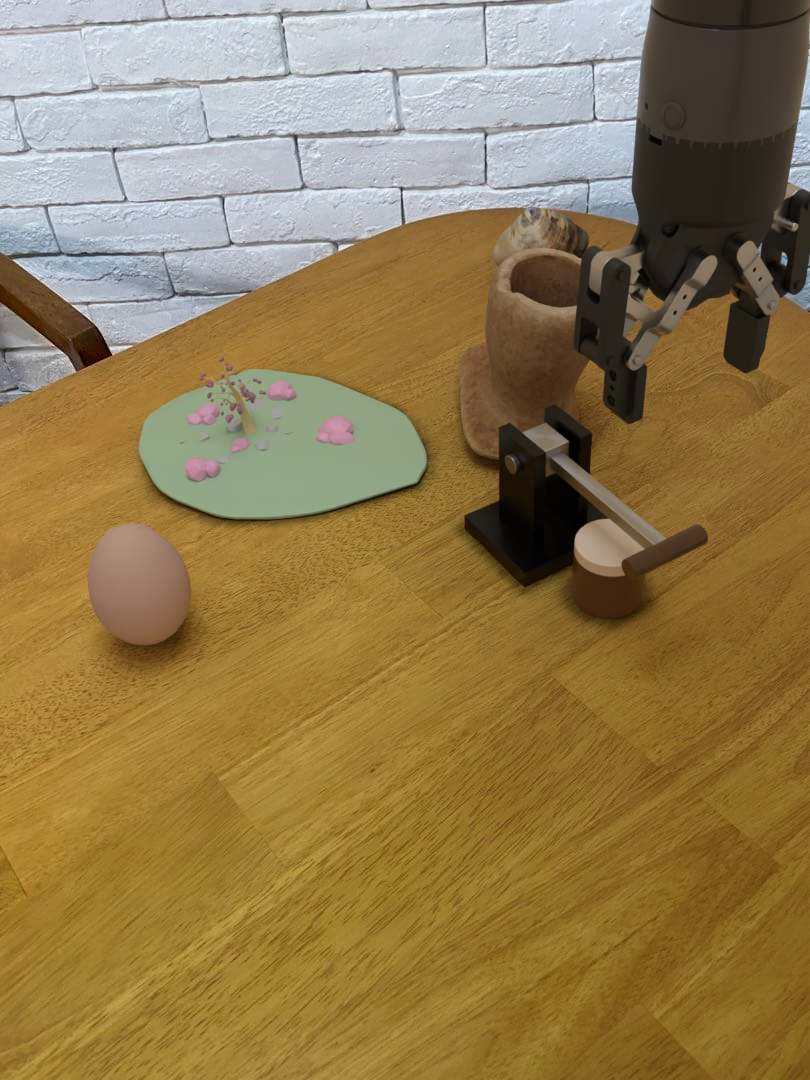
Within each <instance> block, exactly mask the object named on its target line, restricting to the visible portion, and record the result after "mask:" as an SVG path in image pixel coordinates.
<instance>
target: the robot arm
mask: <svg viewBox="0 0 810 1080" xmlns="http://www.w3.org/2000/svg"><path fill="white" fill-rule="evenodd" d="M648 15H649V16H648V20H647V26H646V32H645V35H644V41H643V45H642V46H643V47H642V50H641V58H640V65H639V66H640V67H639V77H638V78H639V80H638V92H637V93H638V95H637V108H636V117H635V118H636V119H635V120H636V121H635V134H634V147H633V148H634V149H633V160H632V174H631V187H630V188H631V189H630V190H631V195H632V199H633V201H634V204H635V205H634V206H635V209H636V213H637V217H638V219H637V220H638V221H637V225H636V228H635V231H634V233H633V236H632V238H631V240H630V243H629V245H626V246H622V247H620V248H616V249H613V250H610V251H607V250H604V249H602V248H601V247H599V246H598V245H590V246H588V247H587V249H586V251H585V252H584V253H583V255H582V259H581V268H580V279H579V289H578V299H577V309H576V319H575V330H574V340H573V348H574V350H575V351H577V352H578V353H580V354H581V355H584V356H585V357H586V358H588V359H589V360H590V361H591V362H592V363H593V364H595V365H596V366H597V367H598V368H599V369H601V370H602V371H604V373H603V374H604V375H603V376H604V377H603V389H602V390H603V392H602V402H603V404H604V407H605V408H606V409H608V410H609V411H610V412H611V413H612V414H613V415H614V416H616V417H617V418H618V419H620V420H621V421H623V422H624V423H626V425H632V424H635V423H636V422H639V421H641V420H642V419H643V417H644V409H645V397H646V387H647V386H646V385H647V377H648V376H647V375H648V365H647V364H646V363H645V362H646V361H647V359H648V358H649V356H650V355H651V353H652V351H653V350H654V348H655V346H656V345H657V343H658V342H659V340H660V338H661V337H663V336H667V335H670V334H672V332H673V331H674V330H675V328H676V327H677V325H678V323H679V321H680V320H681V318H682V317H683V316H684V314H685V312H687V311H690V310H692V309H694V308H697V307H698V306H700V305H701V304H703V303H704V302H706V301H707V300H710V299H711V300H712V299H720V298H722V297H725V296H727V295H730V294H732V296H733V297H734V298H736V299H737V300H736V301H734V302H731V303H730V305H729V311H728V312H729V313H728V318H727V325H726V332H725V338H724V345H723V346H724V347H723V353H722V355H723V359H724V361H725V362H726V363H727V364H729V365H730V366H732V367H734V368H735V369H737V370H738V371H740V372H741V373H743V374H749V373H751V372H754V371H755V370H758V368H759V367H760V362H761V358H762V356H763V354H764V352H765V351H766V344H767V340H768V339H767V338H768V334H769V333H768V332H769V327H770V322H771V316H772V314H774V313H775V312H776V311H777V310H778V309H779V306H780V303H781V299H782V298H783V297H785V295H787V294H790V295H792V296H796V295H798V294H800V293H801V292H802V291H803V289H804V288H805V286H806V283H807V277H808V271H809V263H810V191H809V190H808V189H807V190H806V189H805V188H802V187H800V186H798V185H796V184H793V183H791V182H789V177H790V171H791V166H792V162H793V161H792V159H793V153H794V148H795V142H796V136H797V130H798V125H799V118H800V113H801V107H802V101H803V94H804V89H805V84H806V77H807V72H808V64H809V55H810V0H650V7H649V14H648ZM760 247H761V248H760ZM759 248H760V251H759ZM783 254H785V256H786V265H785V264H784V263H782V258H783ZM648 290H650V292H651V293H652V294H653V296H654V297H655V298H657V299H659V300H660V301H662V302H663V303H662V305H661V306H660V307H659V308H658V309H656V310H654V309H652V308H651V307H649V306H647V305H646V304H645V302H644V297H645V295H646V293H647V291H648ZM638 321H639V322H641V326H640V328H639V330H638V331H637V333H636V335H635V336H634V338H633V340H630V339H628V338H627V337H628V336H629V334H630V332H631V331H632V329H633V328H634V325H635V324H636V322H638ZM598 328H599V334H597V333H598Z"/></svg>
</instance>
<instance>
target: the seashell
mask: <svg viewBox="0 0 810 1080" xmlns="http://www.w3.org/2000/svg"><path fill="white" fill-rule="evenodd" d="M589 244H590V235H589V234H588V232H587V231H586V230H584V229H583V228H582V227H580V226H579V225H578V224H576V223H575V222H574V221H573V220H572V219H571V218H570V217H568V216H566V215H563V214H562V213H560V212H558V211H555V210H551V209H545V208H541V207H536V206H527V207H525V209H523V210H522V212H521V213H520V214H519V215H518V217H517V218H516V220H515V221H514V222H513V223H512V224H511V225H509V226H508V227H507V228H505V229H504V230H503V231H502V233H501V234H500V236H499V237H498V241H497V243H496V245H495V247H494V250H493V261H494V263H495V264H496V266H497V267H498V266H499V265H500V264H501V263H502V262H503V261H504V260H505V259H507V258H508V257H510V256H512V255H513V254H515V253H516V252H520V251H523V250H527V249H533V248H549V249H556V250H560V251H564V252H567V253H570V254H573V255H575V256H577V257H578V258H581V259H582V255H583V253H584V252H585V251H586V249H588V248H589Z"/></svg>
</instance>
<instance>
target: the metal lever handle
mask: <svg viewBox="0 0 810 1080" xmlns="http://www.w3.org/2000/svg"><path fill="white" fill-rule="evenodd" d="M522 433H523V434H524V435H525V436H527V437H528V438H529V439H530V440H532V441H533V442H534V443H535V444H536V445H538V446H539V447H540V448H541V449H542V450H544V451H545V452H546V477H547V476H550V475H552V474H554V473H557V474H558V475H559V476H560V477H561V478H562V479H564V480H565V481H566V482H567V483H568V484H569V485H571V486H572V487H573V488H574V489H575V490H576V491H578V492H579V493H580V494H581V495H582V496H583V497H585V498H586V499H587V500H588V501H589V502H590V503H592V504H593V505H594V506H595V507H596V508H597V509H599V510H600V511H601V512H602V513H603V514H604V515H606V516H607V517H608V518H609V519H610V520H611V521H613V522H614V523H615V524H616V525H617V526H618V527H620V528H621V529H622V530H623V531H624V532H625V533H627V534H628V535H629V536H630V537H631V538H632V539H634V540H635V541H636V542H637V543H638V544H639V545H641V546H642V547H643V548H644V550H642V551H640V552H638V553H636V554H634V555H632V556H630V557H628V558H626V559H624V560H623V561H622V564H621V565H622V570H623V572H624V574H625V575H626V576H627V578H629V579H630V580H635V579H637V578H639V577H641V576H643V575H645V576H646V574H647V575H648V574H649V573H650V572H653V571H655V570H657V569H659V568H661V567H663V566H664V565H667V564H669V563H671V562H673V561H675V560H678V559H679V558H682V557H683V556H685V555H687V554H689V553H692V552H693V551H695V550H697V549H700V548H701V547H703V546H705V545H707V544H708V542H709V535H708V533H707V530H706V529H705V528H704V527H703V526H702V525H701V524H693V525H692V526H690V527H687V528H685V529H683V530H682V531H679V532H677V533H675V534H673V535H671V536H669V537H665V536H664V535H663V534H662V533H661V532H660V531H658V530H657V529H656V528H655V527H653V526H652V525H651V524H650V523H649V522H647V521H646V520H645V519H644V518H643V517H641V516H640V515H639V514H638V513H637V512H636V511H634V509H632V508H630V507H629V506H628V505H627V504H626V503H625V502H623V501H622V500H621V499H620V498H619V497H617V495H615V494H614V493H613V492H612V491H610V490H609V489H608V488H607V487H605V486H604V485H603V484H602V483H600V481H598V480H597V479H596V478H595V477H594V476H592V475H591V473H590V474H588V473H587V472H586V471H585V470H584V469H582V468H581V467H580V466H579V465H578V464H576V463H575V462H574V461H573V460H572V459H570V458H569V457H568V455H569V441H568V440H567V439H566V438H565V437H563V436H562V435H561V434H560V433H558V432H557V431H556V430H555V429H553V428H552V427H551V426H550V425H549V424H547V423H543V424H541V425H539V426H536V427H534V428H531V429H529V430H527V431H524V432H522Z"/></svg>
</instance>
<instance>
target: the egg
mask: <svg viewBox="0 0 810 1080" xmlns="http://www.w3.org/2000/svg"><path fill="white" fill-rule="evenodd" d="M88 566H89V567H88V571H87V575H86V576H87V589H88V596H89V600H90V603H91V606H92V608H93V611H94V613H95V616H96V618H97V619H98V621H99V622H100V623H101V625H102V626H103V627H104V628H105V629H106V630H107V631H108V632H109V633H110V634H111V635H113V636H115V637H116V638H118V639H120V640H122V641H123V642H124V643H128V644H131V645H136V646H152V645H157V644H160V643H162V642H165V641H166V640H168V638H170V637H171V636H173V635H174V634H175V633H177V632H178V630H179V629H180V627H181V626H182V624H183V623H184V622H185V619H186V618H187V616H188V614H189V610H190V606H191V602H192V601H191V600H192V585H191V577H190V575H189V572H188V568H187V566H186V563H185V560H184V559H183V557H182V555H181V554H180V552H179V551H178V550H177V548H176V547H175V546H174V545H173V544H172V543H171V541H169V540H168V538H166V536H164V535H163V534H161V532H159V531H158V530H156V529H154V528H152V527H150V526H148V525H145V524H143V523H135V522H127V523H123V524H118V525H115V526H114V527H112V528H111V529H109V530H107V531H106V532H105V533H104V534H103V535H102V536H101V537H100V539H98V542H97V543H96V545H95V547H94V548H93V550H92V554H91V557H90V561H89V565H88Z"/></svg>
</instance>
